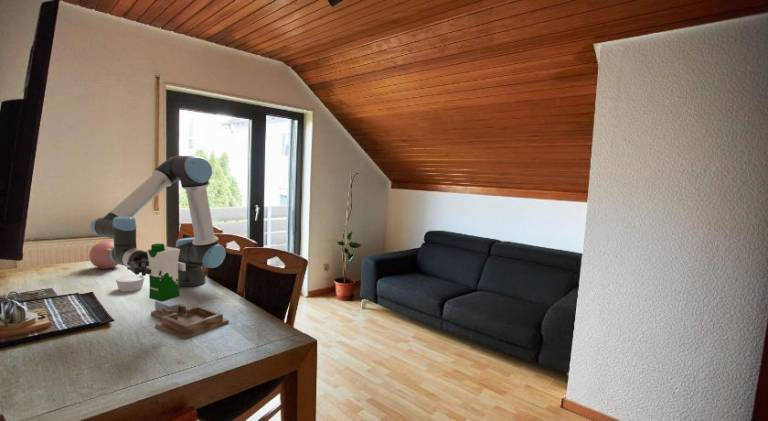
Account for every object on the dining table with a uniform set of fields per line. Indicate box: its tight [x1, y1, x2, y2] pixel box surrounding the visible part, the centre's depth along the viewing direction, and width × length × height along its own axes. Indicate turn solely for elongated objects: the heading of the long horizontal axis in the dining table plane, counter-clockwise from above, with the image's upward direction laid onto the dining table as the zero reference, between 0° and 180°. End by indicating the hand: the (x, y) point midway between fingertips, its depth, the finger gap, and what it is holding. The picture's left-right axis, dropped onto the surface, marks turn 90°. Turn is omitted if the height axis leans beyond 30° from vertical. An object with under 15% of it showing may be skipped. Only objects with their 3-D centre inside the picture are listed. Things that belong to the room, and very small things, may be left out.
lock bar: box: [154, 299, 179, 314], centre depth 155 cm, size 4×10×4 cm, turn 60°
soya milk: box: [145, 243, 181, 302], centre depth 140 cm, size 9×9×20 cm
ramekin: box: [115, 274, 145, 293], centre depth 183 cm, size 11×11×5 cm
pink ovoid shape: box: [88, 240, 119, 270], centre depth 212 cm, size 15×20×15 cm
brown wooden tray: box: [150, 303, 230, 340], centre depth 150 cm, size 18×31×4 cm, turn 60°
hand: (171, 270), depth 137 cm, fingers closed on soya milk, 9 cm apart
